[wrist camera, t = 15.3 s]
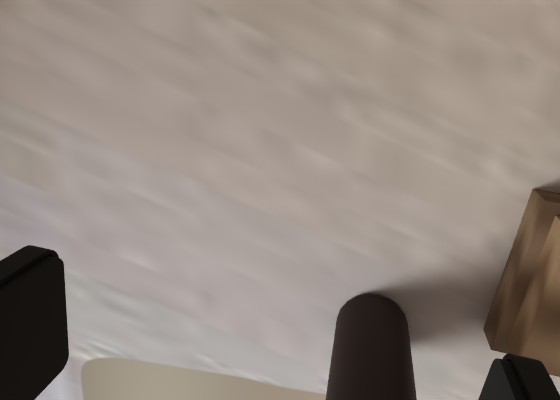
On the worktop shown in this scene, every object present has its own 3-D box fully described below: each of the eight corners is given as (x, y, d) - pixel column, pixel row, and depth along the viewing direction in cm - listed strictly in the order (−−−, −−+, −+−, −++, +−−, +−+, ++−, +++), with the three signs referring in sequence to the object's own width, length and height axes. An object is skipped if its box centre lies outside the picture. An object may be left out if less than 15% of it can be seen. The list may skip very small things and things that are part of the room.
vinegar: (411, 349, 43) (438, 577, 25) (342, 352, 45) (320, 567, 27) (403, 289, 41) (425, 487, 23) (331, 294, 43) (299, 483, 25)
